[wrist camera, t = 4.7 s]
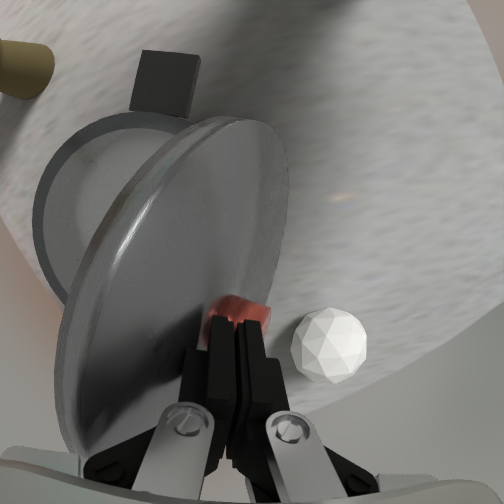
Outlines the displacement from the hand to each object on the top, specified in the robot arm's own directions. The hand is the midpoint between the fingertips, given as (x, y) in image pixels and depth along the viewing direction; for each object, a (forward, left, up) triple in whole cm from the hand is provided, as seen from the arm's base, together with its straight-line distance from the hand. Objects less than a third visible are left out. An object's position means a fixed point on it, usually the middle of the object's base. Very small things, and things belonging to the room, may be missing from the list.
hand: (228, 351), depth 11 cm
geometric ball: (+10, +12, -20) cm, 25 cm away
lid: (0, -1, -2) cm, 3 cm away
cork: (-12, -23, -20) cm, 33 cm away
